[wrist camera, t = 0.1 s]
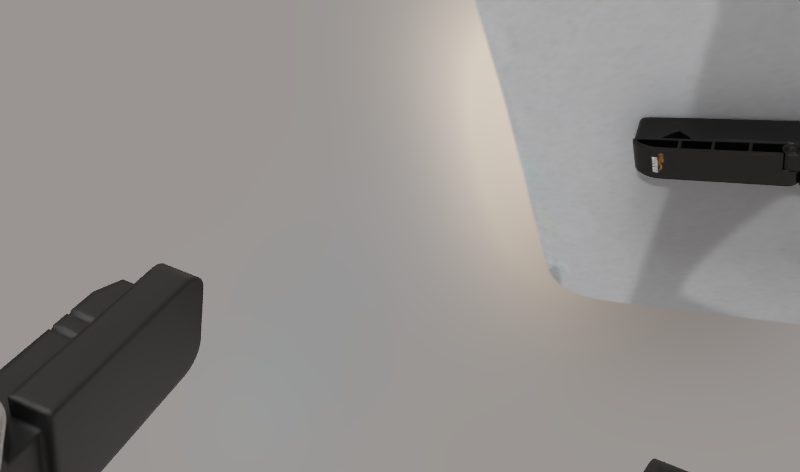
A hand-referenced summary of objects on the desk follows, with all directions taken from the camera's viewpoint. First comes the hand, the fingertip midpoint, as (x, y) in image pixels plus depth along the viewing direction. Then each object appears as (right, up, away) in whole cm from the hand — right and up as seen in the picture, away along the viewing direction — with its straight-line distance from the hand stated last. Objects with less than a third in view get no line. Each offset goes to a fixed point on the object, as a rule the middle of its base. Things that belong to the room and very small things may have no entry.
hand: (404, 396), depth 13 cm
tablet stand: (+23, +9, +30) cm, 39 cm away
